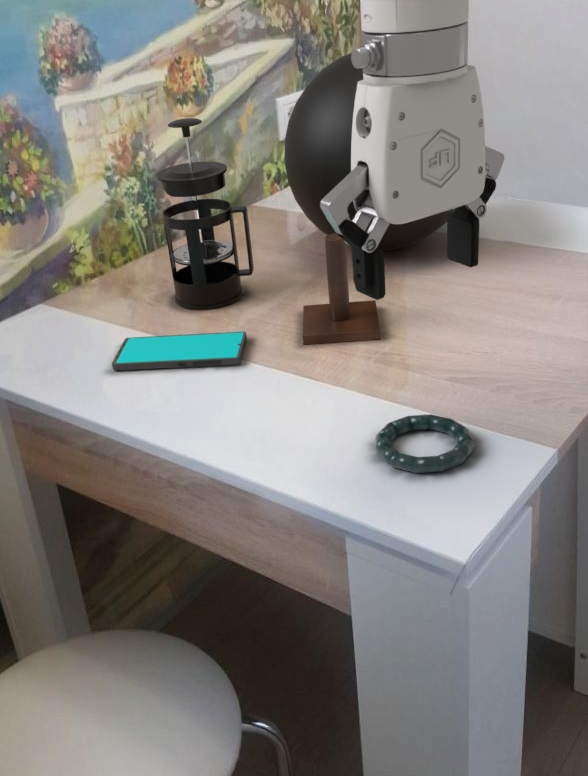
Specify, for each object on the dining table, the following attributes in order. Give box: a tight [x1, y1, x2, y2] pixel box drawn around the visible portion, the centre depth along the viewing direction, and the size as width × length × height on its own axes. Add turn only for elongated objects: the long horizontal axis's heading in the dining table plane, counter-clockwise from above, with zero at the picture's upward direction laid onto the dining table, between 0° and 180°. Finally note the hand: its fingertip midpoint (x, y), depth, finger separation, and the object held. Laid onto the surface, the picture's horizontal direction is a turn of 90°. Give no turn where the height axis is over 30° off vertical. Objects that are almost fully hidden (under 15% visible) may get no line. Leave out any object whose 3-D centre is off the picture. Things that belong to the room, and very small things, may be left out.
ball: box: [284, 52, 455, 252], centre depth 123 cm, size 27×27×27 cm
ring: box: [374, 413, 475, 474], centre depth 81 cm, size 9×9×1 cm
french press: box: [155, 117, 255, 311], centre depth 113 cm, size 12×9×23 cm
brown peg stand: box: [302, 234, 381, 345], centre depth 104 cm, size 9×9×11 cm
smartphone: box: [111, 331, 248, 371], centre depth 104 cm, size 7×1×15 cm
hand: (417, 278), depth 72 cm, fingers open, 9 cm apart
